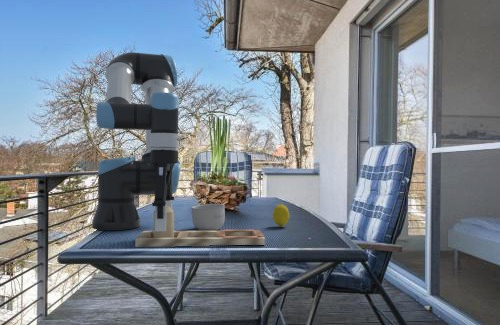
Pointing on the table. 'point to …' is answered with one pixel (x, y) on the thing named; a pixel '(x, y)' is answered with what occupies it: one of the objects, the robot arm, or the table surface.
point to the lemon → (281, 215)
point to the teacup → (208, 216)
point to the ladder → (202, 238)
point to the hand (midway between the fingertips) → (163, 226)
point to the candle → (169, 225)
